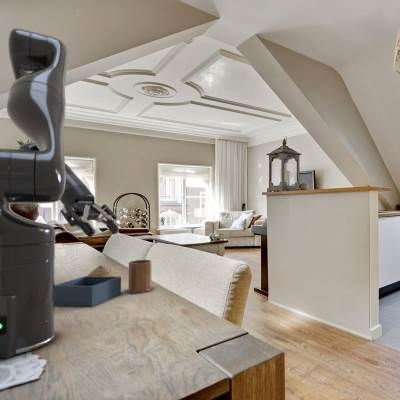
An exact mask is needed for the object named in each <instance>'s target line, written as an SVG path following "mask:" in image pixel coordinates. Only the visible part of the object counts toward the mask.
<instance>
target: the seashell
mask: <svg viewBox="0 0 400 400" xmlns="http://www.w3.org/2000/svg"><path fill="white" fill-rule="evenodd" d="M116 274H118V272H117V271H115V270H114V269H112V268H111V267H109V266H104V265H99V266H97V267H96V268H94V269H93V270H92V271H91V272H90V273H88V275H87V276H101V277H115V275H116Z"/></svg>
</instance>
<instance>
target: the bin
mask: <svg viewBox="0 0 400 400" xmlns="http://www.w3.org/2000/svg"><path fill="white" fill-rule="evenodd" d="M121 294H122V277H121V276H113V277H101V276H88V275H85V276H82V277H79V278H74V279H71V280H68V281H65V282H60V283H57V284H54V306H61V307H62V306H64V307H66V306H67V307H94V306H96V305H99V304H101V303H104V302H106V301H108V300H111V299H113V298H115V297H117V296H120V295H121Z"/></svg>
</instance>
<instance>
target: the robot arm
mask: <svg viewBox="0 0 400 400" xmlns="http://www.w3.org/2000/svg"><path fill="white" fill-rule="evenodd" d="M7 51H8V57H9V62H10V66H11V71H12V74H13V79H14V82H13V83H12V84H11V85H10V88H9V92H8V97H7V102H6V113H7V116H8V117H9V120H10V121H11V122H12V124H13V125H14V126H15V127H16V128H17V129H18V130H19V131H20V132H21V133H22V134H23V135H24V136H25V137H26V138H28V139H29V140H30V141H31V142H27V143H23V144H21V145H20V146H19V147H18V148H4V147H0V359H1V358H3V359H9V358H12V357H13V356H16V355H19V354H22V353H26V352H29V351H33V350H36V349H38V348H42V347H44V346H45V345H48V344H49V343H50V342H52V341H53V340H54V339H55V338H56V337H55V336H56V332H55V305H54V285H55V270H56V269H55V265H56V264H55V262H56V258H55V257H56V252H55V251H56V230H55V227H54V226H52V225H51V224H47V223H44V222H39V221H35V220H31V219H28V218H26V217H23V216H21V215H20V214H17V213H15V212H14V211H13V210H12V209H11V206H10V205H11V204H52V203H53V204H54V203H57V202H59V201H60V202H61V204H62V205H63V207H62V209H61V210H60V213H61V215H62V216H63V218H64V219H65V220H66V222H67V224H68V225H69V226H70V227H71V228H73V227H77V228H79V229H81V231H82V232H83V233H84V234H85V236H87V237H88V238H92V237H93V236H94V235H95V234H96V230H95V229H94V227H93V226H92V225H91V224H90V223H89V221H95V222H97V223H102V224H104V225H105V226H106V228H107V229H108V230H109V231H110V233H111V234H112V235H116V234H118V232H120V227H119V226H118V225H117V224H116V223H115V221H116V220H117V219H118V216H117V215H116V214H115V213H114V211H112V210H111V208H110V207H109V206H108V205H107V204H102V205H101V206H99V205H98V204H97V203H96V202H95V201H96V198H95V195H94V194H93V193H92V191H91V190H90V189H89V188H88V187H87V186H86V184H85V183H84V182H83V181H82V180H81V178H79V176H77V175H76V173H75V172H74V171H73V170H72V168H71V167H70V166H69V165H68V164H67V163H66V161H65V160H66V158H65V143H64V135H65V134H64V133H65V122H66V81H67V80H66V79H67V73H68V67H69V53H68V48H67V45H65V42H63V40H61V39H59V38H57V37H54V36H52V35H47V34H43V33H39V32H35V31H31V30H27V29H23V28H18V27H14V28H12V29H11V30H10V31H9V34H8V39H7Z"/></svg>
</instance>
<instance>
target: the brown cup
mask: <svg viewBox="0 0 400 400" xmlns="http://www.w3.org/2000/svg"><path fill="white" fill-rule="evenodd" d="M152 264H153V263H152V260H151V259H135V260H131V261H129V262H128V278H127V279H128V284H127V285H128V288H127V289H128V293H129V294H141V293H146V292H149V291H151V290H152Z"/></svg>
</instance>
